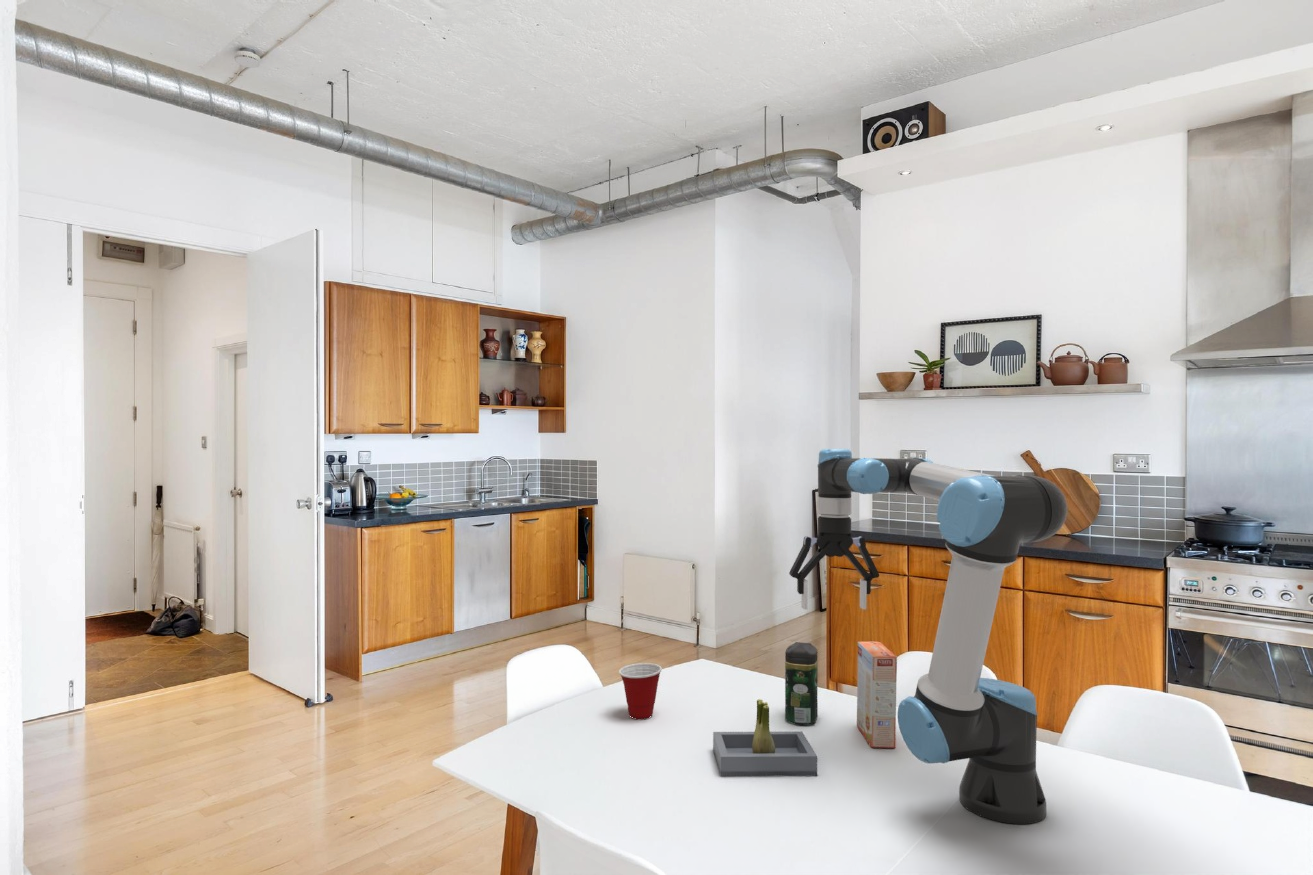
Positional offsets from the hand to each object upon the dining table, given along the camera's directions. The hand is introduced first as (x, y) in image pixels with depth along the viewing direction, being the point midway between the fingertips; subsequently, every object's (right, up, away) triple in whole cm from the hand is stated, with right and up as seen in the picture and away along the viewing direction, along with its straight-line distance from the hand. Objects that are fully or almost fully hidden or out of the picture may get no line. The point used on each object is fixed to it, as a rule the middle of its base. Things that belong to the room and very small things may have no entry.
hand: (833, 608), depth 181 cm
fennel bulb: (-18, -30, -12) cm, 37 cm away
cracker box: (+11, -31, +3) cm, 33 cm away
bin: (-18, -30, -12) cm, 37 cm away
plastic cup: (-45, -31, +16) cm, 57 cm away
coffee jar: (-5, -31, +15) cm, 35 cm away
